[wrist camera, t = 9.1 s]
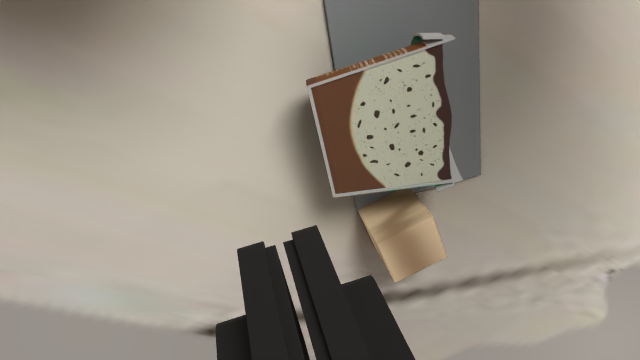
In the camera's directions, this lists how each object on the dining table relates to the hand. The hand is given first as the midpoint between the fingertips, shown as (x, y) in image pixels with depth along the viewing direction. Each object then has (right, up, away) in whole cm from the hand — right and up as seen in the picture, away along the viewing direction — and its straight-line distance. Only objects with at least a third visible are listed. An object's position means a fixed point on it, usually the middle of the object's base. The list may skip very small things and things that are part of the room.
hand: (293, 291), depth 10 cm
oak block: (+7, -1, +35) cm, 36 cm away
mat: (+8, +9, +30) cm, 33 cm away
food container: (0, +6, +27) cm, 28 cm away
